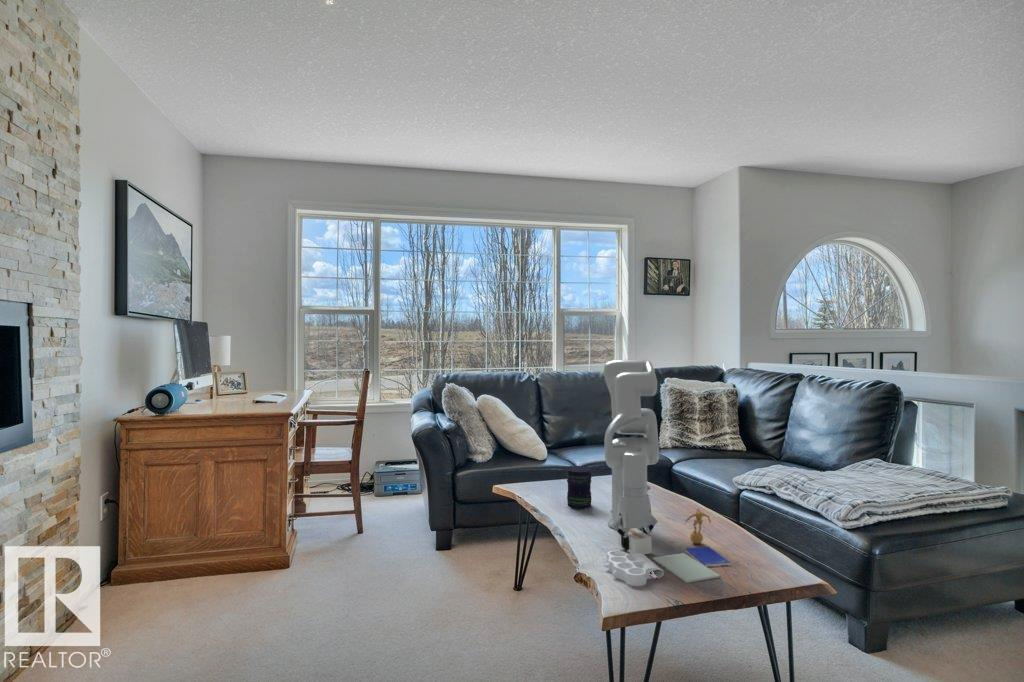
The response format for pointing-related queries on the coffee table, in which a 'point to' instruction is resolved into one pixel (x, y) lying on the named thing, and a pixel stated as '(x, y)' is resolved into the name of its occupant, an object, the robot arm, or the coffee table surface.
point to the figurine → (696, 535)
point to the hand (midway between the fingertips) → (635, 546)
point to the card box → (638, 542)
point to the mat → (686, 567)
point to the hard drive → (707, 556)
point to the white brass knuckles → (632, 567)
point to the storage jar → (579, 487)
